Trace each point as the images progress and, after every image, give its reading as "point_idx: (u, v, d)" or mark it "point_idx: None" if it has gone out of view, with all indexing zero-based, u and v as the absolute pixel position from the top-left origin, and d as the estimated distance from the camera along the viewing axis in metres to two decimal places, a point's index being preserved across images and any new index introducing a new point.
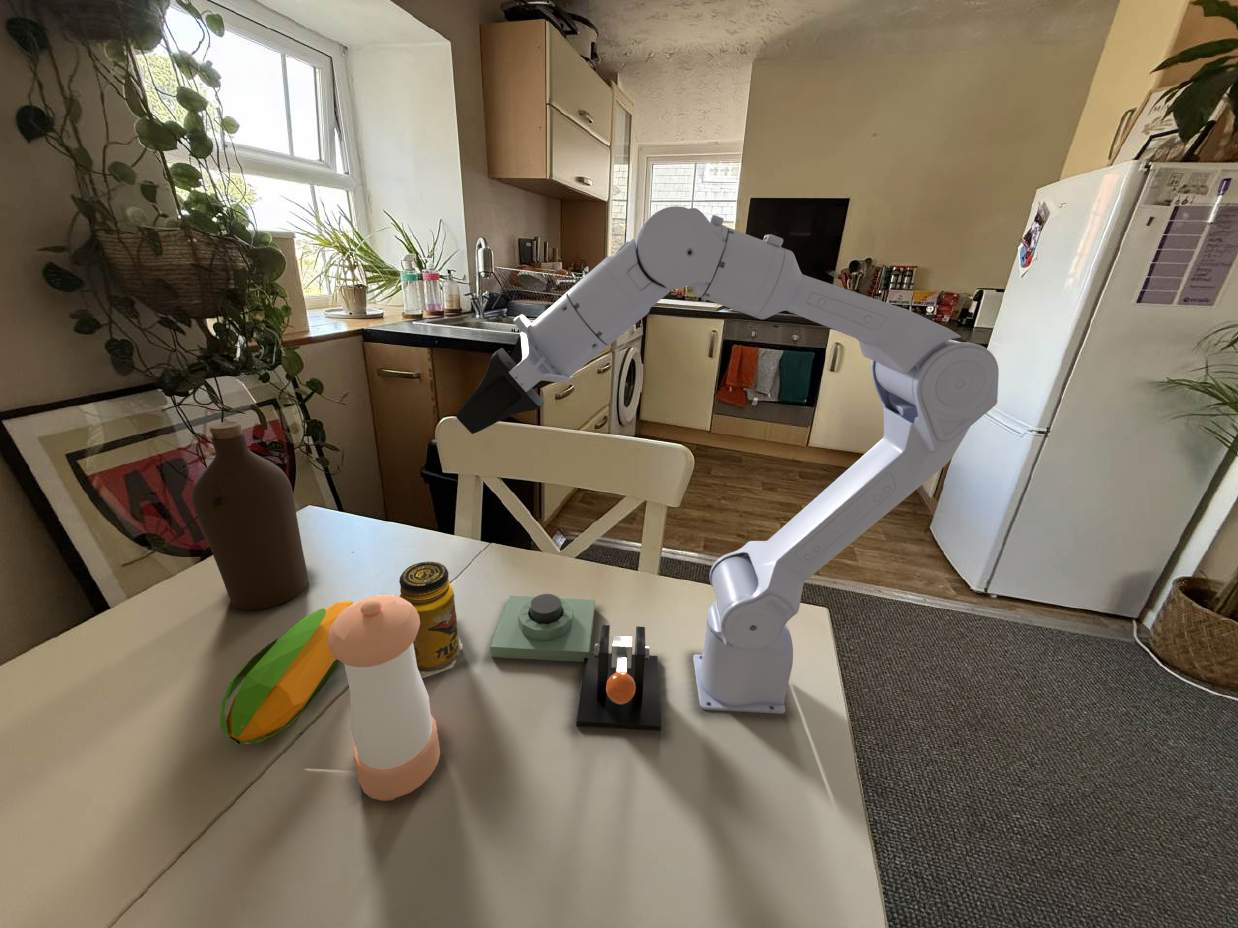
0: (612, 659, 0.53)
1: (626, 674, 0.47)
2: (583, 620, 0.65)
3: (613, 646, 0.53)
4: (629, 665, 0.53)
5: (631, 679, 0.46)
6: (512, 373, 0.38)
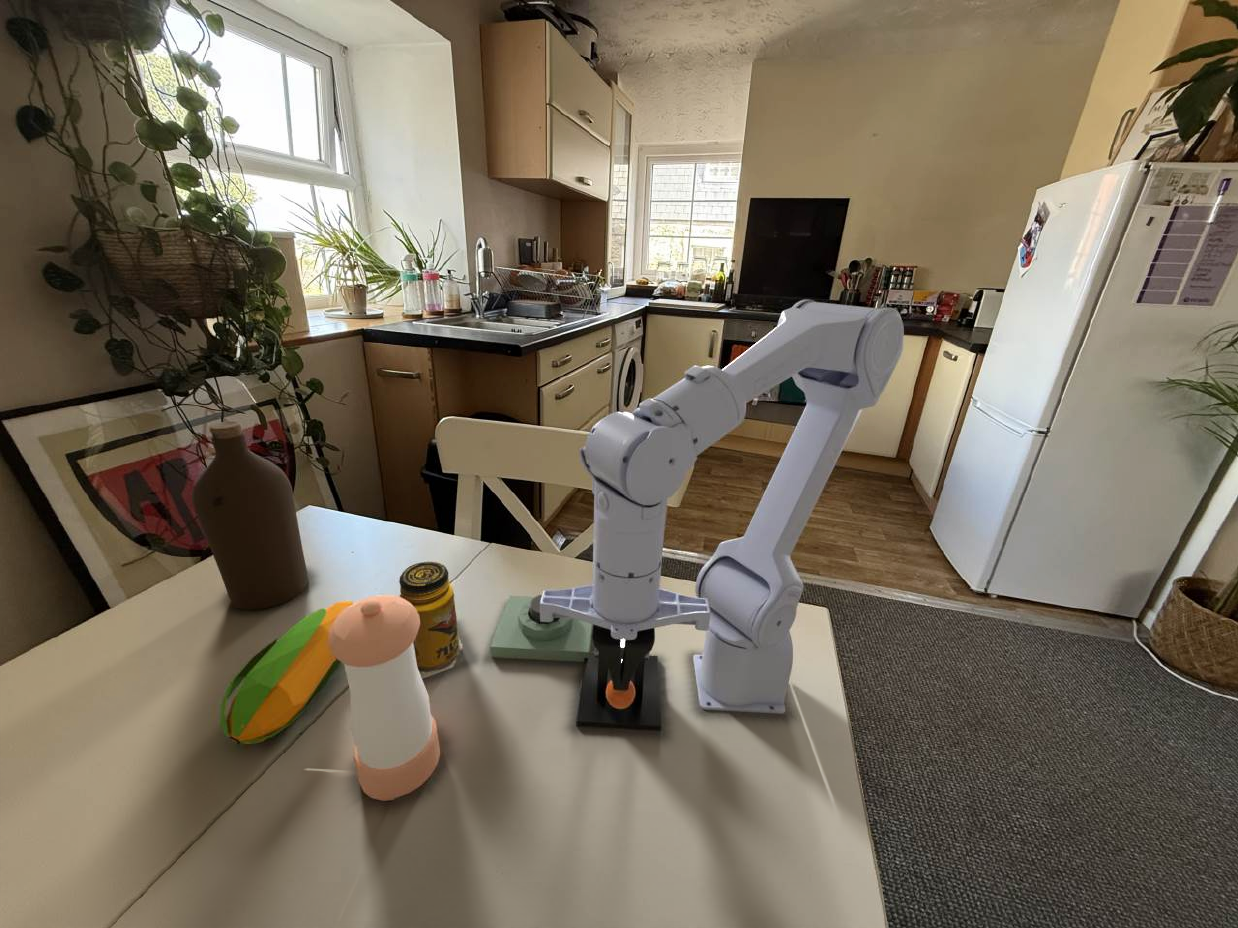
0: None
1: None
2: None
3: None
4: None
5: (631, 684, 0.46)
6: None
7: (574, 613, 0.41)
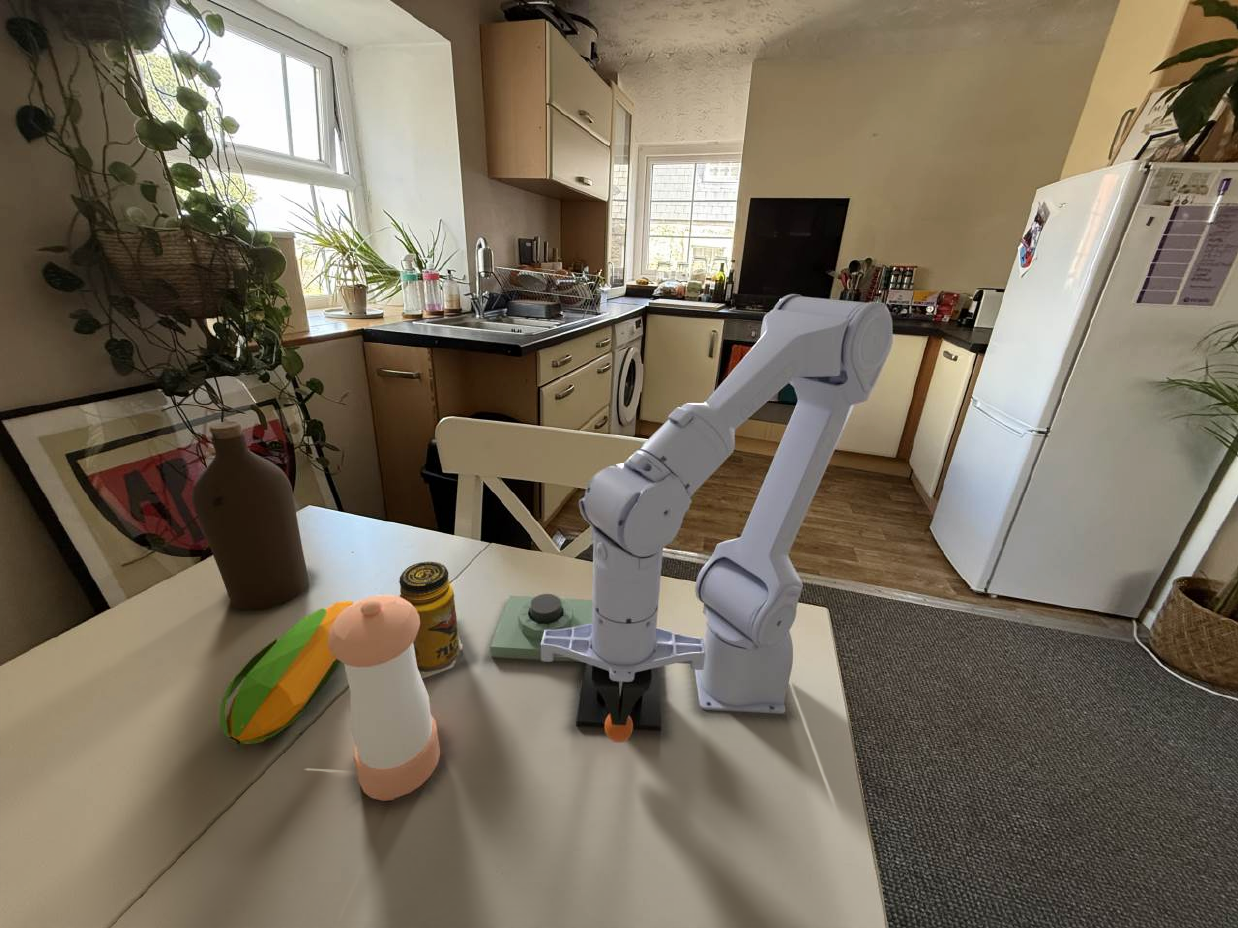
0: None
1: None
2: (583, 620, 0.65)
3: None
4: None
5: (629, 724, 0.48)
6: None
7: (574, 654, 0.43)
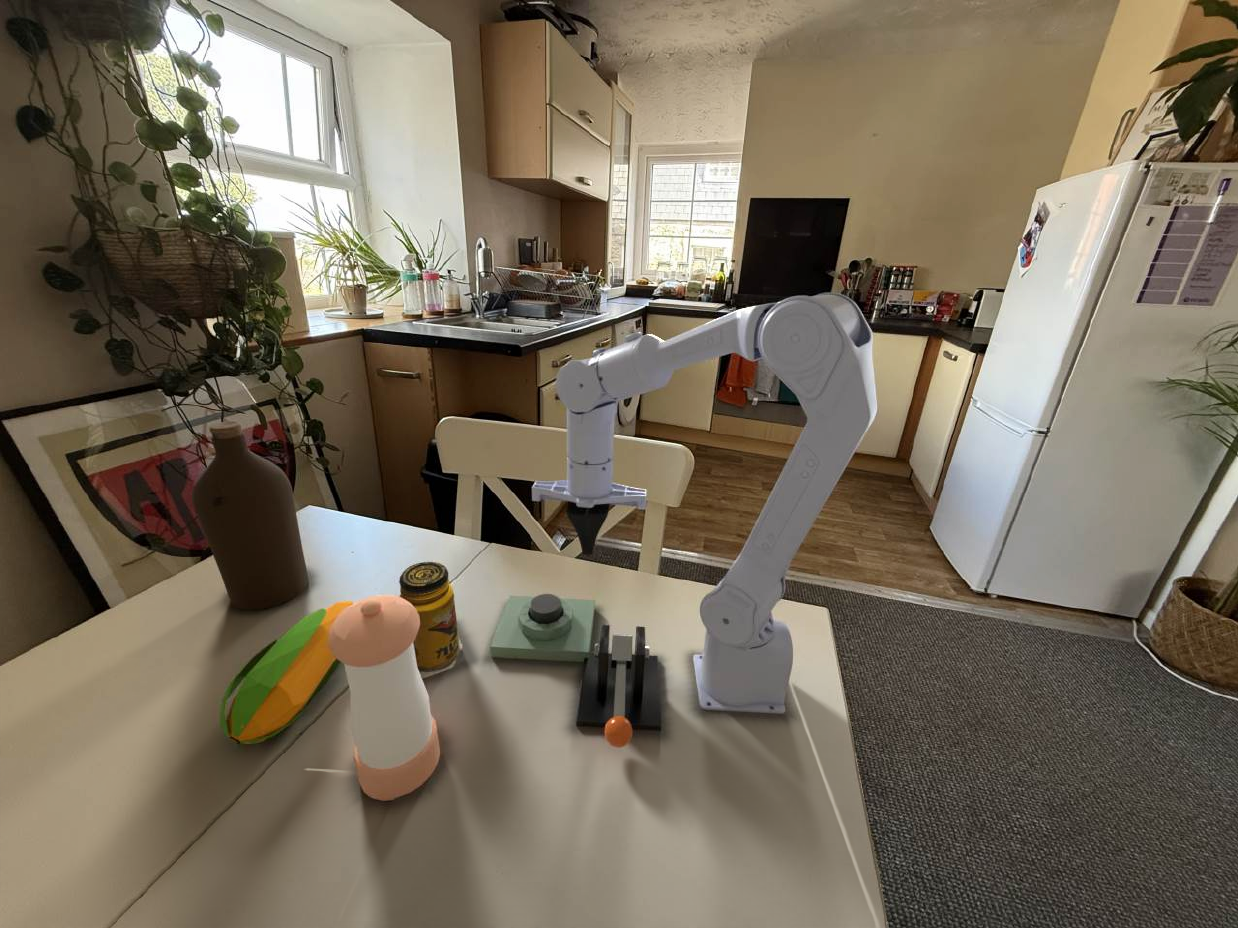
0: (611, 665, 0.54)
1: (623, 727, 0.48)
2: (583, 620, 0.65)
3: (612, 659, 0.53)
4: (629, 667, 0.54)
5: (628, 731, 0.48)
6: (645, 507, 0.62)
7: (554, 493, 0.62)
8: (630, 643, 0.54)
